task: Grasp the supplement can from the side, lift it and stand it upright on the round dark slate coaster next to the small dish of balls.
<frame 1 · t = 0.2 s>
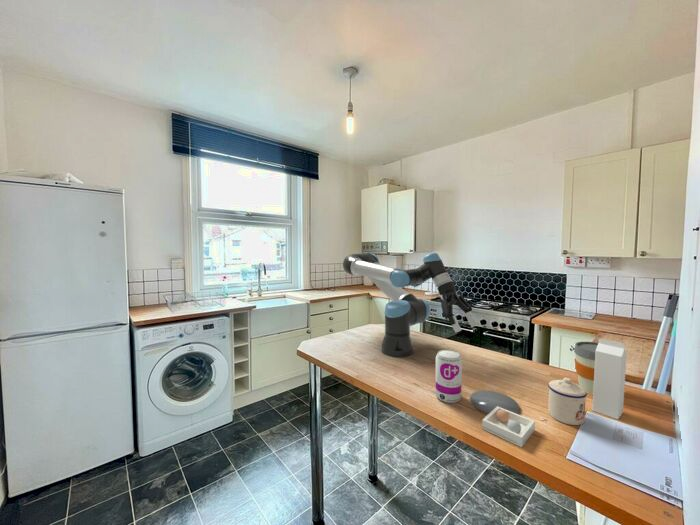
hand: (466, 328, 125), 14 cm above the table, tool tilted 35°, fingers open, 13 cm apart
supplement can: (448, 397, 98), on the table
ball terracotta: (503, 415, 83), point 2 cm above the table, touching ball dish
ball grey: (514, 426, 78), point 2 cm above the table, touching ball dish
reusable coffee cup: (595, 389, 102), on the table
milk: (607, 412, 89), on the table
teacup with lid: (566, 415, 88), on the table
slate coaster: (493, 403, 94), on the table
ball dish: (508, 429, 81), on the table
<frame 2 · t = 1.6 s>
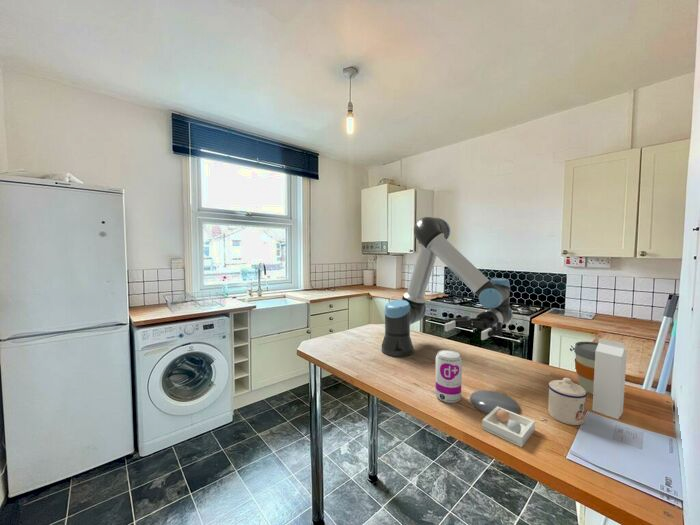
hand: (462, 331, 103), 20 cm above the table, tool horizontal, fingers open, 13 cm apart
nothing on the table moved.
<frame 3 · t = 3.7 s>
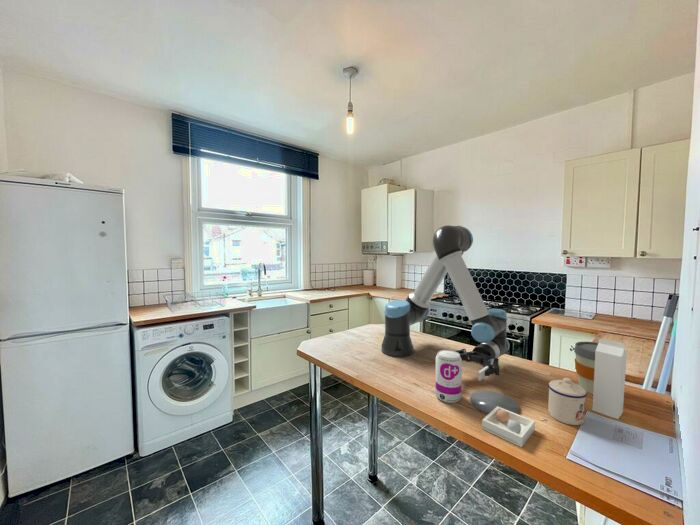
hand: (459, 369, 101), 8 cm above the table, tool horizontal, fingers open, 13 cm apart
nothing on the table moved.
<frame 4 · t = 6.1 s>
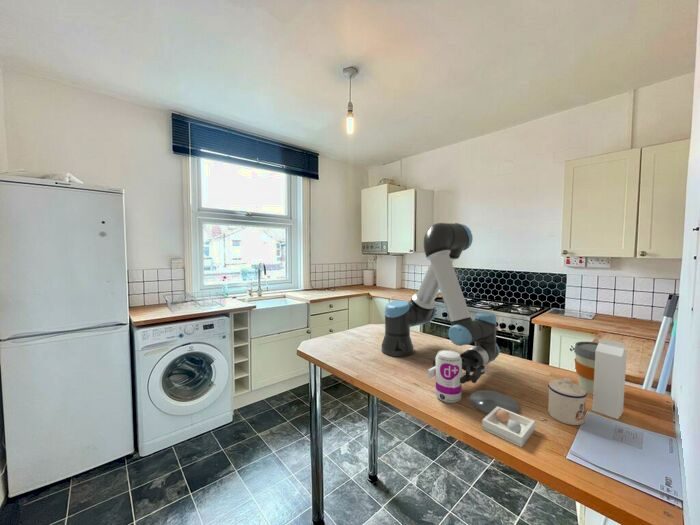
hand: (440, 378, 94), 8 cm above the table, tool horizontal, fingers closed on supplement can, 8 cm apart
supplement can: (448, 397, 98), on the table, touching gripper
everything else where it was.
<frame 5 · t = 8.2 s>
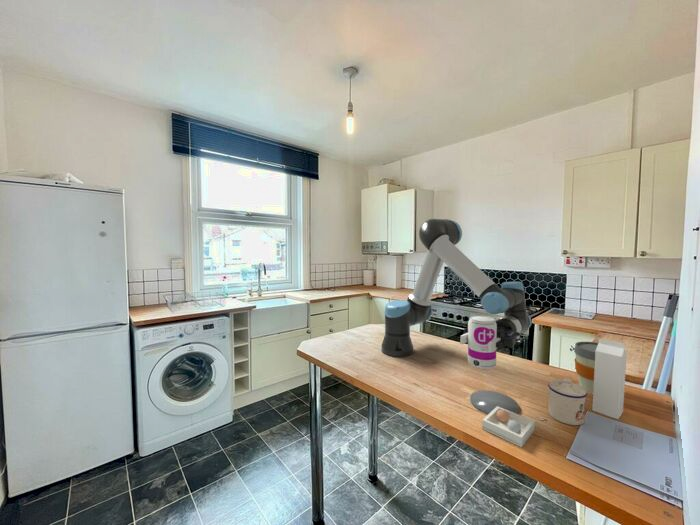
hand: (475, 343, 90), 21 cm above the table, tool horizontal, fingers closed on supplement can, 8 cm apart
supplement can: (481, 365, 93), point 13 cm above the table, touching gripper
everything else where it was.
when the fingers open (10 cm above the table, at t = 10.8 s): supplement can stays where it is, resting on slate coaster.
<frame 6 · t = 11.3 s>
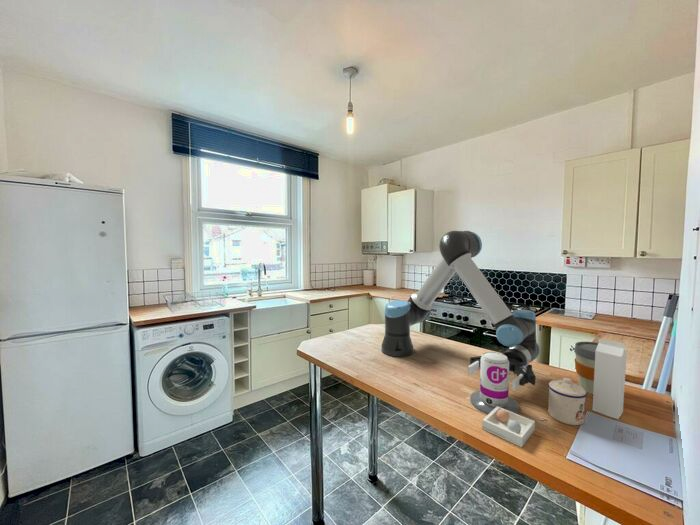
hand: (490, 377, 91), 10 cm above the table, tool horizontal, fingers open, 13 cm apart
supplement can: (493, 402, 94), point 1 cm above the table, touching slate coaster
everything else where it was.
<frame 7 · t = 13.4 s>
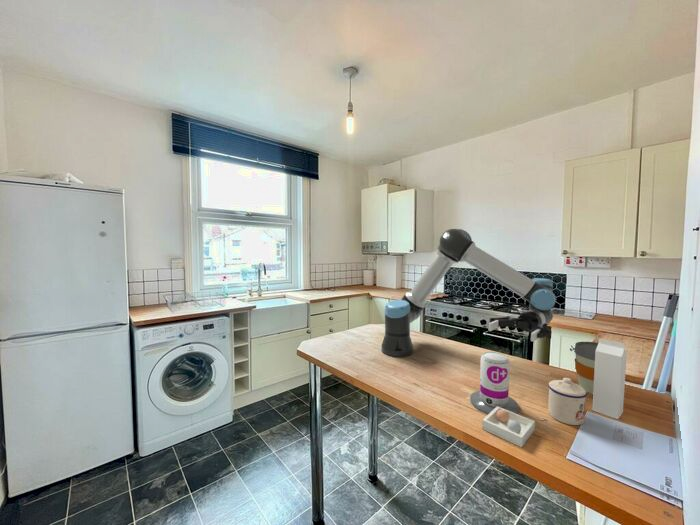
hand: (509, 332, 100), 21 cm above the table, tool horizontal, fingers open, 13 cm apart
nothing on the table moved.
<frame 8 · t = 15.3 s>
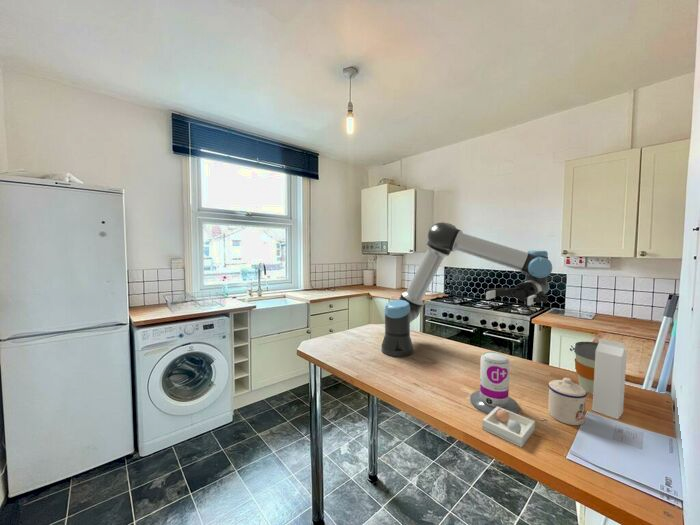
hand: (506, 298, 102), 32 cm above the table, tool horizontal, fingers open, 13 cm apart
nothing on the table moved.
at the end: supplement can 0.0 cm from the slate coaster (horizontally); supplement can tilted 0°; the gripper is holding nothing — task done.
